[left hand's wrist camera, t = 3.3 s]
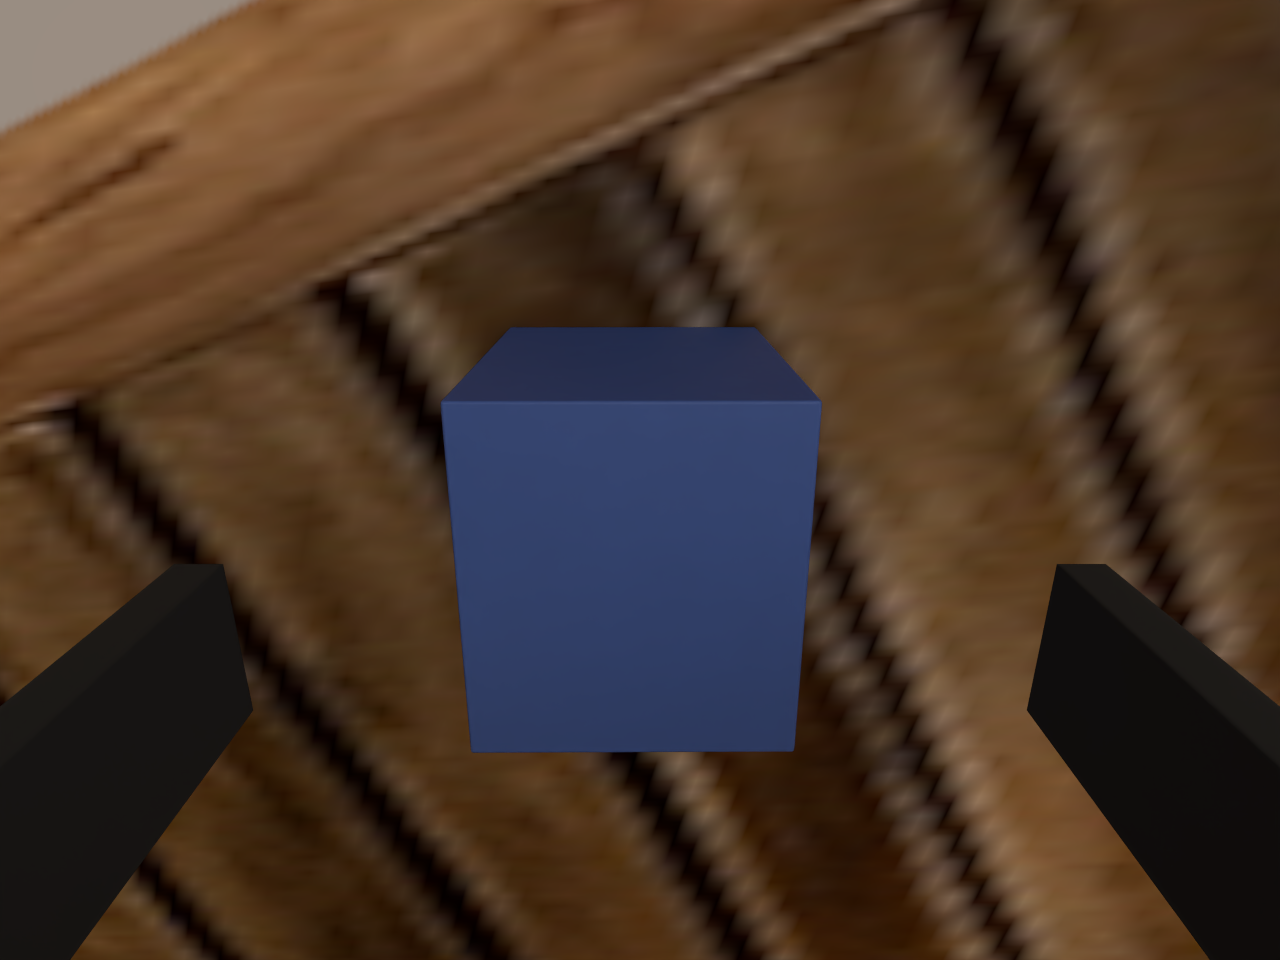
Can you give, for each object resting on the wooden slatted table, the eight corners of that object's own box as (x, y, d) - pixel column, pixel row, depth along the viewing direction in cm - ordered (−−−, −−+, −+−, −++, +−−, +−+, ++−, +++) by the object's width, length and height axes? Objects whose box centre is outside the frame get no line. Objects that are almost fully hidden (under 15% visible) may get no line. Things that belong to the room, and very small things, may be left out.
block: (509, 327, 21) (439, 401, 14) (755, 326, 21) (822, 400, 14) (523, 574, 24) (470, 754, 16) (743, 573, 24) (794, 752, 16)
